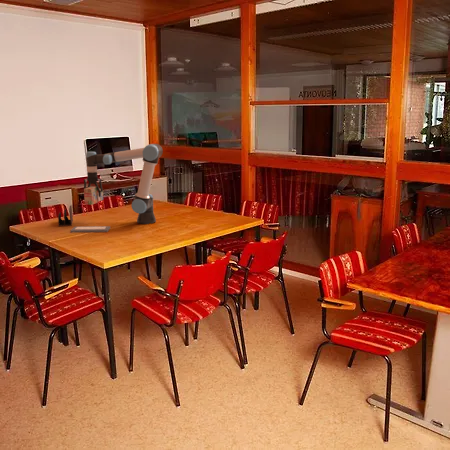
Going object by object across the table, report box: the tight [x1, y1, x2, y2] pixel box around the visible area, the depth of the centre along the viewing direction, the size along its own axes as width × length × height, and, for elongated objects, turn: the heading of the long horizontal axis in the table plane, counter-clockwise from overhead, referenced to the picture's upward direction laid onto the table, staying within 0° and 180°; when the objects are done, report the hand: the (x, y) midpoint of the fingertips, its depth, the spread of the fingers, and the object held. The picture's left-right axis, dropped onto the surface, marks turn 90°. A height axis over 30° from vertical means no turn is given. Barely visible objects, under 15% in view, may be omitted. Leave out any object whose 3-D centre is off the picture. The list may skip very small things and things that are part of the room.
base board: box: [70, 225, 111, 233], centre depth 372 cm, size 27×13×2 cm, turn 93°
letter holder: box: [57, 205, 74, 227], centre depth 393 cm, size 10×20×14 cm, turn 14°
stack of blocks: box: [83, 185, 104, 206], centre depth 388 cm, size 21×6×12 cm, turn 170°
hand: (93, 200), depth 388 cm, fingers closed on stack of blocks, 7 cm apart
